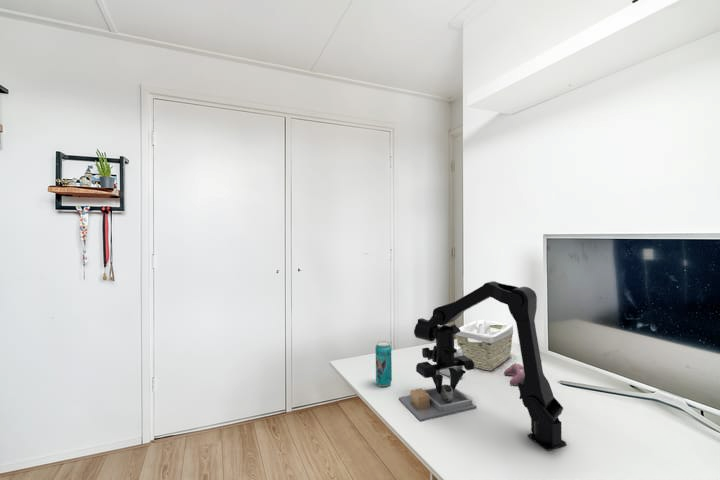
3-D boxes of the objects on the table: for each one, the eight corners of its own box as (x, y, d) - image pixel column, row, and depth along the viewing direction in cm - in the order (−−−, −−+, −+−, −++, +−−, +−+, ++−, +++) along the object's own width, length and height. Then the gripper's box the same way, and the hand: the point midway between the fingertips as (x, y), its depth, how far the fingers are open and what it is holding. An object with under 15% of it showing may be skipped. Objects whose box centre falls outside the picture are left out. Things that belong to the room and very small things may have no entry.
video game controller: (521, 391, 118) (530, 374, 117) (509, 384, 119) (518, 367, 118) (513, 379, 128) (522, 363, 127) (502, 373, 129) (511, 357, 128)
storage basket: (479, 349, 157) (479, 317, 157) (515, 357, 146) (515, 323, 146) (454, 363, 140) (454, 328, 140) (493, 374, 129) (492, 336, 128)
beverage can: (373, 385, 120) (372, 344, 120) (380, 379, 126) (379, 340, 125) (388, 389, 118) (387, 346, 118) (394, 382, 123) (393, 342, 123)
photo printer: (435, 372, 132) (435, 341, 131) (442, 369, 134) (442, 338, 134) (458, 380, 124) (457, 347, 123) (464, 377, 126) (464, 345, 126)
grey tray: (476, 408, 104) (476, 393, 104) (420, 421, 97) (420, 405, 97) (449, 388, 117) (449, 375, 117) (398, 399, 110) (398, 385, 110)
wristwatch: (446, 405, 105) (445, 389, 105) (436, 396, 111) (436, 381, 111) (456, 403, 106) (455, 388, 106) (446, 394, 112) (445, 380, 112)
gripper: (454, 334, 119) (454, 377, 119) (407, 340, 112) (408, 386, 113) (475, 343, 108) (475, 391, 109) (424, 351, 102) (425, 402, 102)
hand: (445, 392), depth 108 cm, fingers open, 5 cm apart
